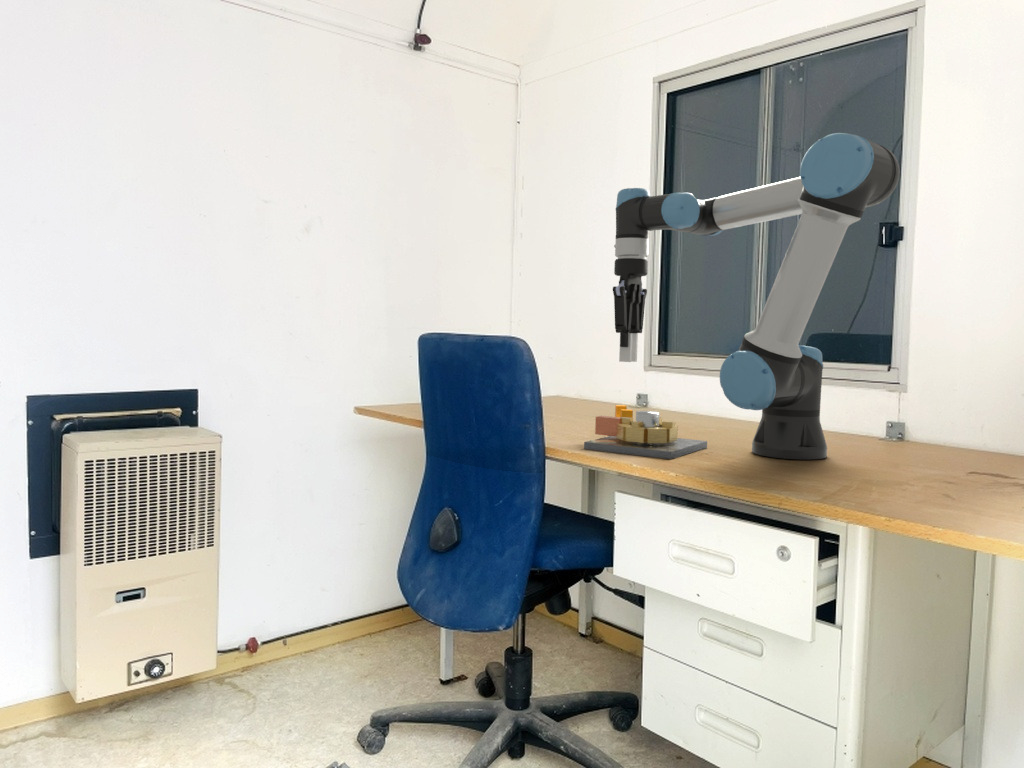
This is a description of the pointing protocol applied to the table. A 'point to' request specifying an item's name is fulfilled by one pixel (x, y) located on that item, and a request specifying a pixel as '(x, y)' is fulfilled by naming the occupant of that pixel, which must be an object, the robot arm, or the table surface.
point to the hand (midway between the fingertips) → (628, 361)
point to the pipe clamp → (623, 411)
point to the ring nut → (636, 430)
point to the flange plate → (647, 449)
